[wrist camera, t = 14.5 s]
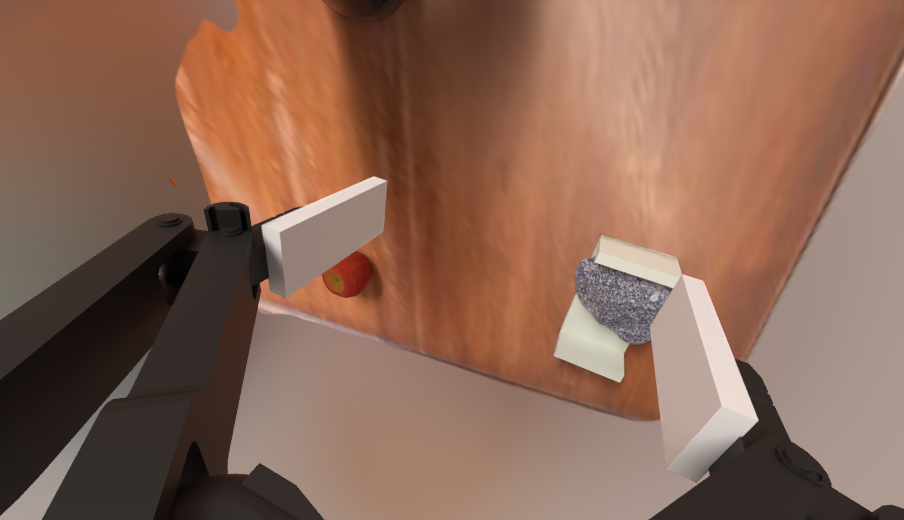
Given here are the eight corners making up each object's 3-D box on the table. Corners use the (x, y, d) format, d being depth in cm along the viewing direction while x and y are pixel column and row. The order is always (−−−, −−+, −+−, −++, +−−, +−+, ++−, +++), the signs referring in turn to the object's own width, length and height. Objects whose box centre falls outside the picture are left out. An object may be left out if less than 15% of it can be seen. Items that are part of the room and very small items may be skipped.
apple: (366, 238, 61) (337, 257, 55) (386, 277, 63) (360, 301, 57) (335, 248, 65) (304, 267, 59) (355, 285, 67) (328, 308, 61)
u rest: (559, 332, 54) (553, 355, 50) (601, 234, 46) (599, 252, 41) (619, 355, 52) (619, 382, 48) (676, 257, 43) (683, 279, 39)
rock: (692, 292, 39) (649, 362, 43) (684, 275, 44) (647, 339, 48) (584, 253, 43) (554, 321, 47) (587, 241, 47) (560, 304, 51)
